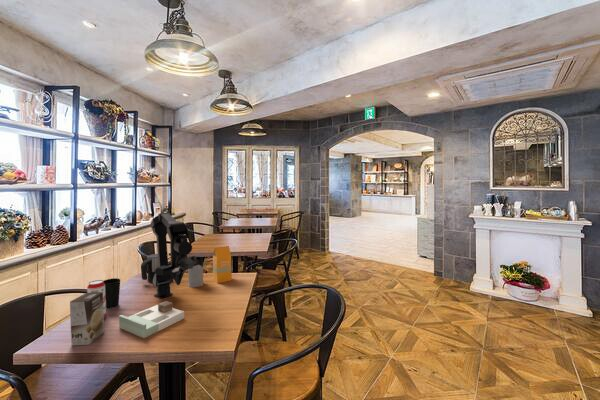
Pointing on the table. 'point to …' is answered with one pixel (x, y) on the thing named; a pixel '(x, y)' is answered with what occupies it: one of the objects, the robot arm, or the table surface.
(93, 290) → the beer can
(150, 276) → the milk frother
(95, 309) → the coffee box
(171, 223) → the robot arm
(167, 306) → the block
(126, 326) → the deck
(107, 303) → the cup
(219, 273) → the orange juice
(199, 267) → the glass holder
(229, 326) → the table surface
